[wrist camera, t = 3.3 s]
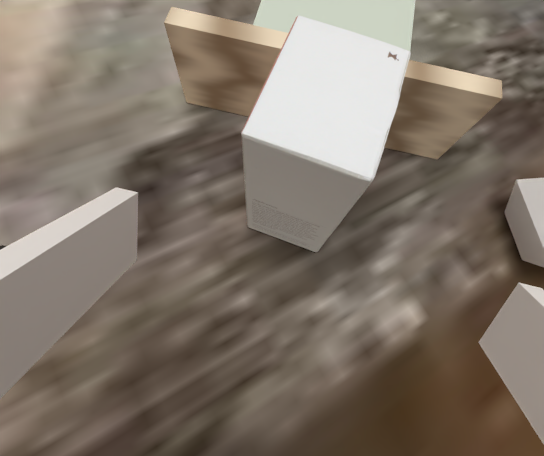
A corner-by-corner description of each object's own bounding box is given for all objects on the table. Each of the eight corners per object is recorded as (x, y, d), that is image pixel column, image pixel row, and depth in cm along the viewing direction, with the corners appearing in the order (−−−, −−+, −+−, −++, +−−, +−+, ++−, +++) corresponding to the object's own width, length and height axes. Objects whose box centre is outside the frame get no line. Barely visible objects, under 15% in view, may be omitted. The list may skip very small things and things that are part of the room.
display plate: (238, 80, 31) (237, 71, 30) (273, -27, 36) (274, -39, 35) (398, 117, 30) (404, 108, 29) (410, 3, 36) (416, -7, 35)
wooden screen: (186, 102, 30) (164, 22, 22) (191, 89, 30) (171, 6, 22) (437, 159, 29) (502, 98, 22) (438, 145, 30) (501, 80, 22)
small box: (277, 150, 28) (297, 9, 16) (344, 173, 28) (416, 48, 16) (244, 228, 26) (237, 132, 14) (317, 255, 26) (378, 182, 13)
